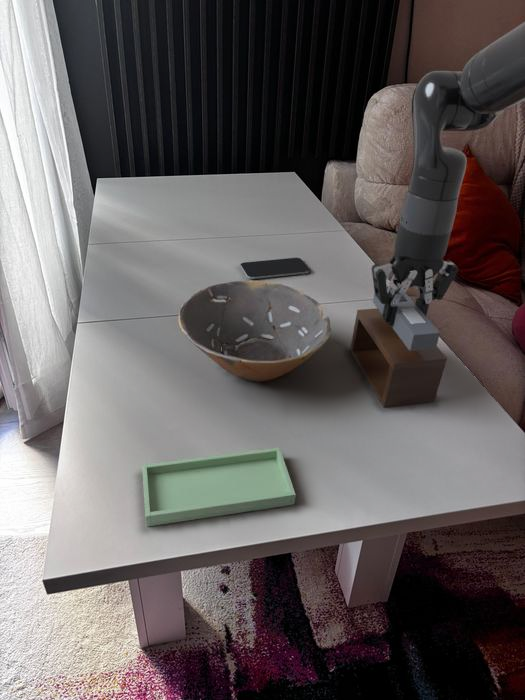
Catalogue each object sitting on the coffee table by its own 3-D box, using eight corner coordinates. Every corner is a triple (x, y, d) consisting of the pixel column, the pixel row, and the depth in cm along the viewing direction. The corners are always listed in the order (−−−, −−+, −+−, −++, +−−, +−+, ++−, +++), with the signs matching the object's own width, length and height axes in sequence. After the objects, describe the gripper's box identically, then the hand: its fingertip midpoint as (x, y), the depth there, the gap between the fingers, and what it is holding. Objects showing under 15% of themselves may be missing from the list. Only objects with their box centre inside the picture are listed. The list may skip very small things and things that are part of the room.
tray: (278, 457, 80) (279, 447, 78) (294, 504, 73) (295, 494, 72) (143, 474, 76) (142, 464, 74) (146, 526, 69) (145, 516, 68)
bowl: (157, 347, 100) (154, 299, 94) (270, 312, 112) (273, 268, 106) (228, 431, 83) (229, 379, 78) (352, 380, 95) (361, 332, 89)
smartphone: (311, 270, 126) (248, 277, 122) (310, 273, 127) (248, 280, 122) (299, 257, 132) (239, 262, 127) (299, 259, 132) (239, 265, 128)
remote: (435, 348, 85) (440, 331, 83) (409, 351, 84) (414, 334, 82) (395, 300, 97) (399, 284, 95) (372, 302, 96) (375, 286, 94)
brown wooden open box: (433, 402, 92) (447, 358, 86) (383, 407, 90) (394, 363, 85) (394, 347, 104) (404, 306, 99) (349, 351, 102) (357, 309, 97)
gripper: (391, 235, 76) (370, 338, 86) (483, 231, 79) (453, 330, 89) (370, 214, 82) (353, 313, 92) (457, 211, 85) (431, 307, 95)
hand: (403, 321), depth 90 cm, fingers closed on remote, 4 cm apart
